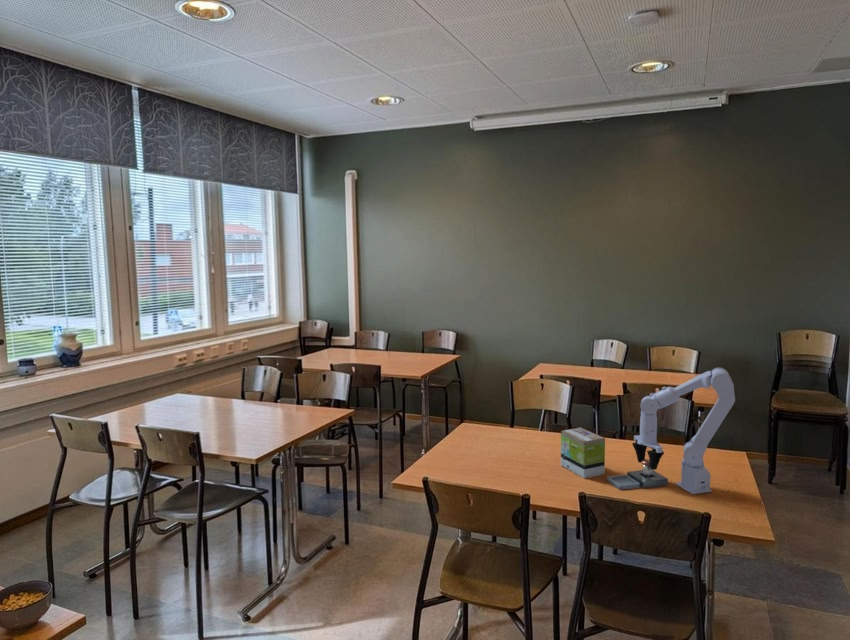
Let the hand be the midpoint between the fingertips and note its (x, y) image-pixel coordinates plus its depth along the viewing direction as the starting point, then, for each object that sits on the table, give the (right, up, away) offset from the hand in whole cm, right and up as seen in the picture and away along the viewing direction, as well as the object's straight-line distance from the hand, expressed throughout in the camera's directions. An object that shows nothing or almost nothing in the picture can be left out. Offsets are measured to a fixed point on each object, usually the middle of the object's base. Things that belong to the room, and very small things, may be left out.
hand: (647, 465), depth 214 cm
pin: (0, -6, +1) cm, 6 cm away
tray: (-9, -6, -1) cm, 11 cm away
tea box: (-20, -5, +13) cm, 25 cm away
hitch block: (0, -6, +1) cm, 6 cm away
